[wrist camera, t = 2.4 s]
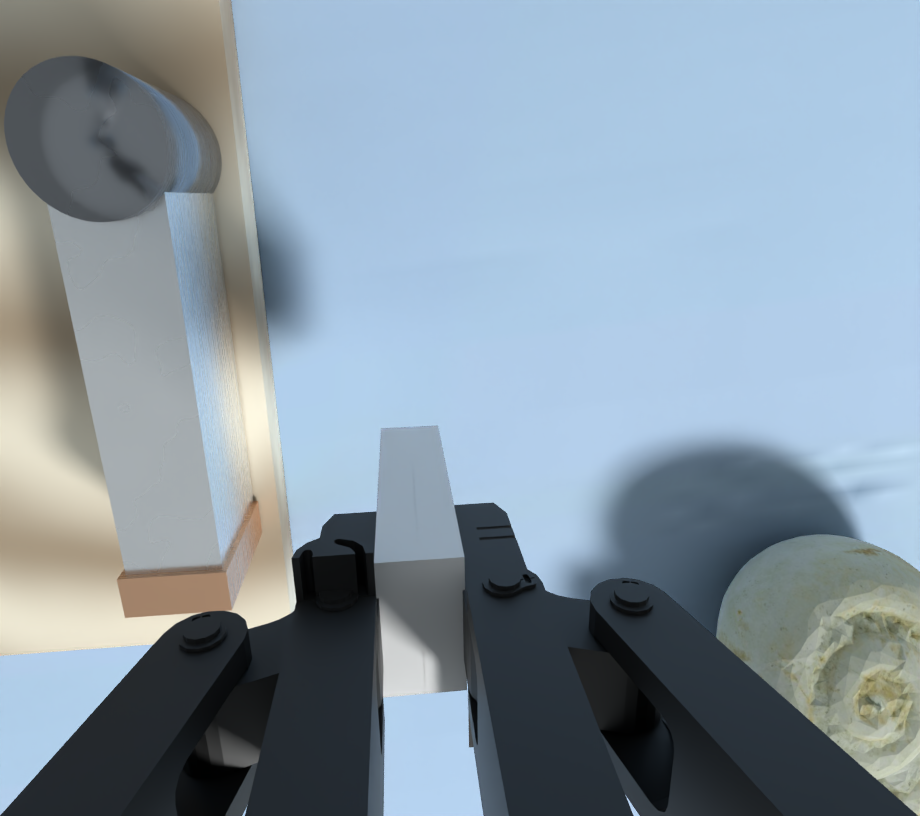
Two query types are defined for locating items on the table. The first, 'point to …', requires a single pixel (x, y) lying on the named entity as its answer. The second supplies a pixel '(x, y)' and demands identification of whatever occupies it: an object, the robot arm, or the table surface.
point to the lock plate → (56, 353)
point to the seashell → (837, 646)
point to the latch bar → (146, 321)
